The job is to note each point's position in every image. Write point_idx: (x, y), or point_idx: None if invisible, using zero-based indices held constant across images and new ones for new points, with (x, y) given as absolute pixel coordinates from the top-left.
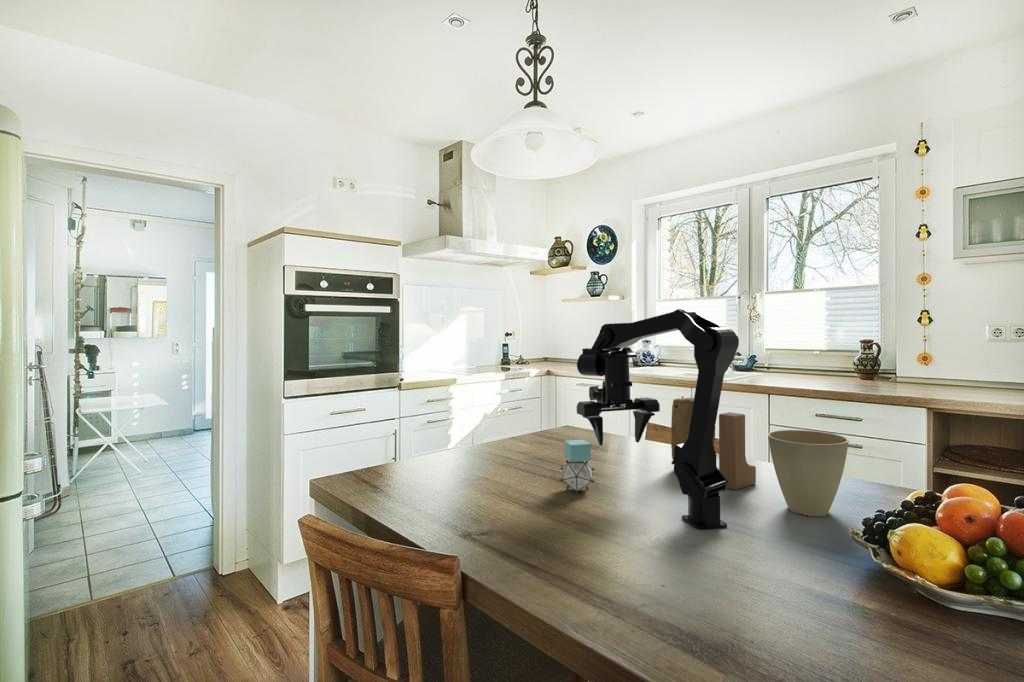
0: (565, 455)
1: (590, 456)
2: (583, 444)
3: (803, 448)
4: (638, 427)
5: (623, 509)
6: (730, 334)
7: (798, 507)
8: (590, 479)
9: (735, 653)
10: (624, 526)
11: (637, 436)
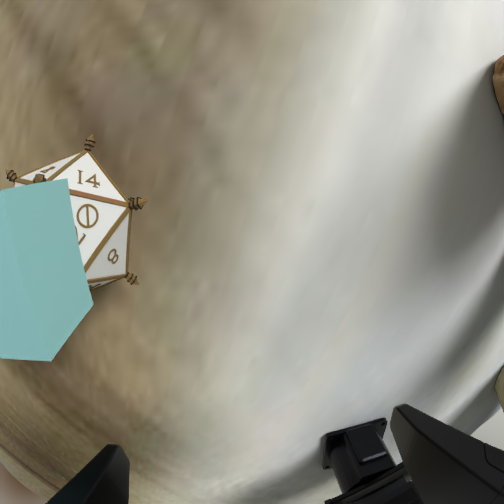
0: None
1: (83, 315)
2: (11, 357)
3: None
4: (439, 499)
5: (213, 390)
6: None
7: (498, 394)
8: (119, 277)
9: None
10: (190, 456)
11: (404, 456)
